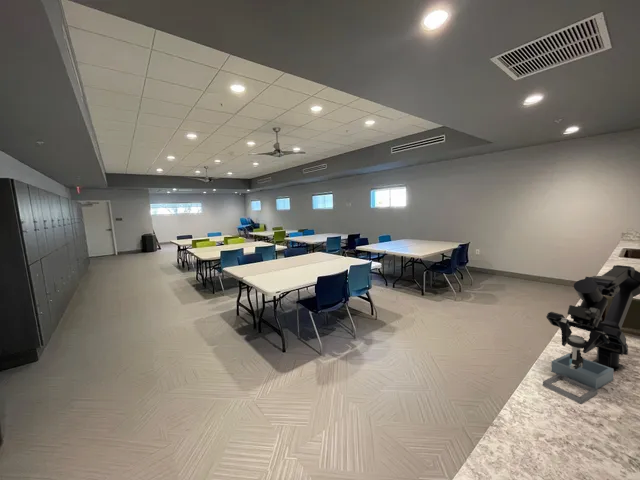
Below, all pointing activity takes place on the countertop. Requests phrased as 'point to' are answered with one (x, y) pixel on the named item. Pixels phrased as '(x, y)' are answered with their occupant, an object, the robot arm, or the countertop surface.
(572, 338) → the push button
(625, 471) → the countertop surface
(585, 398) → the silver picture frame
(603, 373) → the plastic bin
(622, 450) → the countertop surface
